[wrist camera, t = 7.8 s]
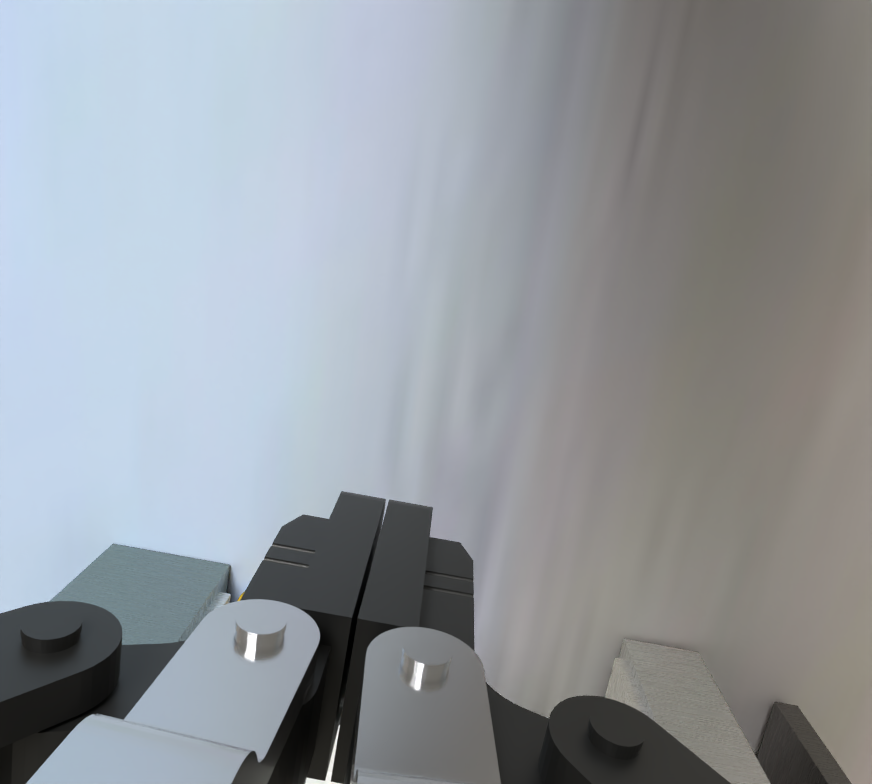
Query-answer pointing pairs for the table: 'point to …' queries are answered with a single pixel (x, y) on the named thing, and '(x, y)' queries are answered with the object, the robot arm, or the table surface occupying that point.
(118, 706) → the robot arm
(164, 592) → the vise bed
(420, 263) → the table surface
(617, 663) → the sliding jaw
